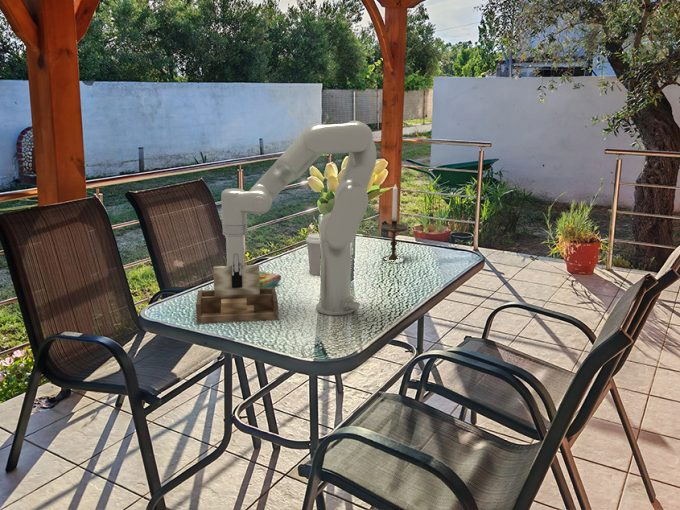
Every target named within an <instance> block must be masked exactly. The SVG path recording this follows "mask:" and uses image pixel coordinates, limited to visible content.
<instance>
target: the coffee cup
mask: <svg viewBox="0 0 680 510" xmlns="http://www.w3.org/2000/svg"><path fill="white" fill-rule="evenodd" d="M319 233H320V232H315V233H309V234H307V237H306V238H305V242H306V245H307V255H308V266H309V275H312V276H314V275H315V277H317V276H318V277H321V276H320V240H319V238H320V237H319Z"/></svg>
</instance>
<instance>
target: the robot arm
mask: <svg viewBox="0 0 680 510" xmlns="http://www.w3.org/2000/svg"><path fill="white" fill-rule="evenodd" d="M335 154H348V158H347V162H346V164H345V168H344V170H343V173H342V175H341V177H340V180H339V183H338V184H337V187H336V188H335V190H334V201H335V202H334V204H333V207H332V210H331V211H330V212H328V213H327V214H325V215H324V216H323V217H322V219H321V221H320V225H319V233H320V242H321V276H320V302H318V303H317V304H315V310H316V311H317V312H318V313H320V314H322V315H327V316H343V315H348V314H352V313H353V312H354V311H358V310H359V308H360V302H358V301H354V296H353V295H351V276H352V275H351V274H352V273H351V272H352V271H351V265H352V264H351V263H352V245H351V244H352V243H353V242H354V240H355V238H356V236H357V233H358V231H359V228H360V226H361V225H362V221H363V219H364V217H365V215H366V212H367V208H368V206H369V195H368V192H367V190H368V186H369V185H370V182H371V179H372V176H373V173H374V171H375V167H376V164H377V163H376V162H377V147H376V144H375V140H374V138H373V131H372V129H371V127H370V126H368V125H367V124H366V123H365V122H362V121H360V120H350V121H348V122H346V123H335V124H323V123H319V122H318V123H317V122H316V123H313V124H310V125H308V126H307V127H306V128H305V129H304V130H303V131H302V133H301V134H300V135H299V136H298V137H297V138H296V139H295V140H294V141H293V142H292V143H291V145H290V146H289V147H288V148H287V149H286V150H285V151H284V152H283V153H282V154H281V155H280V156H279V157H278V159H277V160H276V161H274V163H273V164H272V165H271V166H270V167H269V169H267V170H266V172H265V173H264V174H263V175H262V176H261V177H260V178H259V179H258V180H257V182H255V184H253V186H252V187H251V188H250V189H249V190H246V191H245V189H242V188H238V187H237V188H234V187H233V188H226V189H224V190H222V191H221V194H220V195H221V219H222V220H221V223H222V235H223V236H226V237H225V240H226V241H225V248H226V266H227V267H228V268H229V267H231V266H232V275H231V276H232V288H242V275H241V267H242V266H244V259H245V258H244V255H245V241H244V238H245V237H244V236H246V235H248V214H251V215H264V214H266V213H267V212H268V211H269V210H270V209H271V208H272V203H273V200H274V199H275V198H276V197H277V196H278V194H279V193H281V192H282V191H283V190H284V189H285V188H286V187H287V186H288V185H289V184H290V183H292V182H294V181H297V179H299V178H300V177H302V176H303V175H304V173H305V172H306V171H307V170H309V168H310V167H311V166H312V165H313V163H314V162H315V161H317V159H318V158H320V156H321V155H335ZM238 268H239V269H238Z"/></svg>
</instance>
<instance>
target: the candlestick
mask: <svg viewBox="0 0 680 510" xmlns="http://www.w3.org/2000/svg"><path fill="white" fill-rule="evenodd" d="M397 180H398V178H397V177H395V179H394V181H393V182H394V186H393V187H392V209H391V210H392V211H391V212H392V213H391V214H392V215H391V219H389V221H390V222H391V223H386V224H382V225H381V226H380V230H382V231H384V232H390V233H391V234H392V236H391V237H392V239H391V241H390V242H389V243H390V246H391V248H390V250H391V254H390V255H387V256H383V257H382V259H383V260H384V261H387V260H385V259H384V258H386V257H388V256H390V257H389V260H396V259H398V258H397V256H398V255H396V250H397V249H398V248H397V247H396V246H397V245H398V242H397V241H396V238H397V237H396V234H397V233H401V232H406V231H408V225H404V224H399V223H398V222H399V221H400V219H397V218H398V193H399V192H398V187H397ZM391 262H392V261H391ZM393 262H394V261H393Z"/></svg>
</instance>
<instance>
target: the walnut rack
mask: <svg viewBox="0 0 680 510" xmlns="http://www.w3.org/2000/svg"><path fill="white" fill-rule="evenodd" d="M239 298H246V300H247V305H254V313H249V314H228V315H221V299H239ZM278 301H279V300H278V296H277V291H276V287H275V286H273V287H267V288H260V294H256V295H232V296H215V295H214V289H199V290H197V297H196V303H195V306H196V307H195V309H196V313H195V314H196V324H197V325H198V324H199V325H201V324H220V323H224V324H225V323H239V322H240V323H241V322H260V321H261V322H264V321H278V320H279V304H278V303H279V302H278Z"/></svg>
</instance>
